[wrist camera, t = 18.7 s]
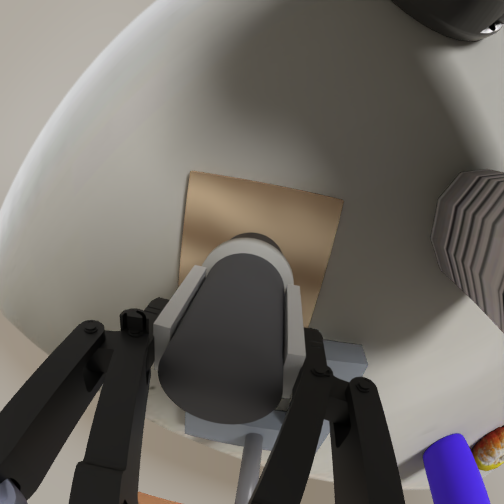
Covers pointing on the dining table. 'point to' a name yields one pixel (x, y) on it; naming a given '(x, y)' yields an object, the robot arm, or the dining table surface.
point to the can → (473, 238)
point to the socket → (273, 420)
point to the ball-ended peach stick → (152, 499)
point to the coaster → (261, 226)
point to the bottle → (454, 472)
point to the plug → (232, 335)
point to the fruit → (490, 450)
